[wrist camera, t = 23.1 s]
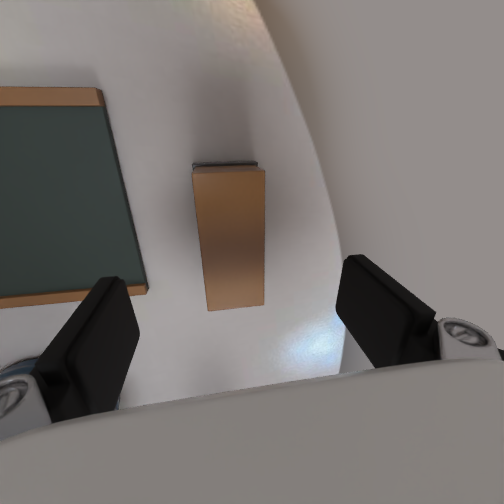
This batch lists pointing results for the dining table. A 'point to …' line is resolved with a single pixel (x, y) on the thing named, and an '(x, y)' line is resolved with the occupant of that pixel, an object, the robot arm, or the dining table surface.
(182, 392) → the dining table surface
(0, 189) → the board
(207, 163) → the eraser
